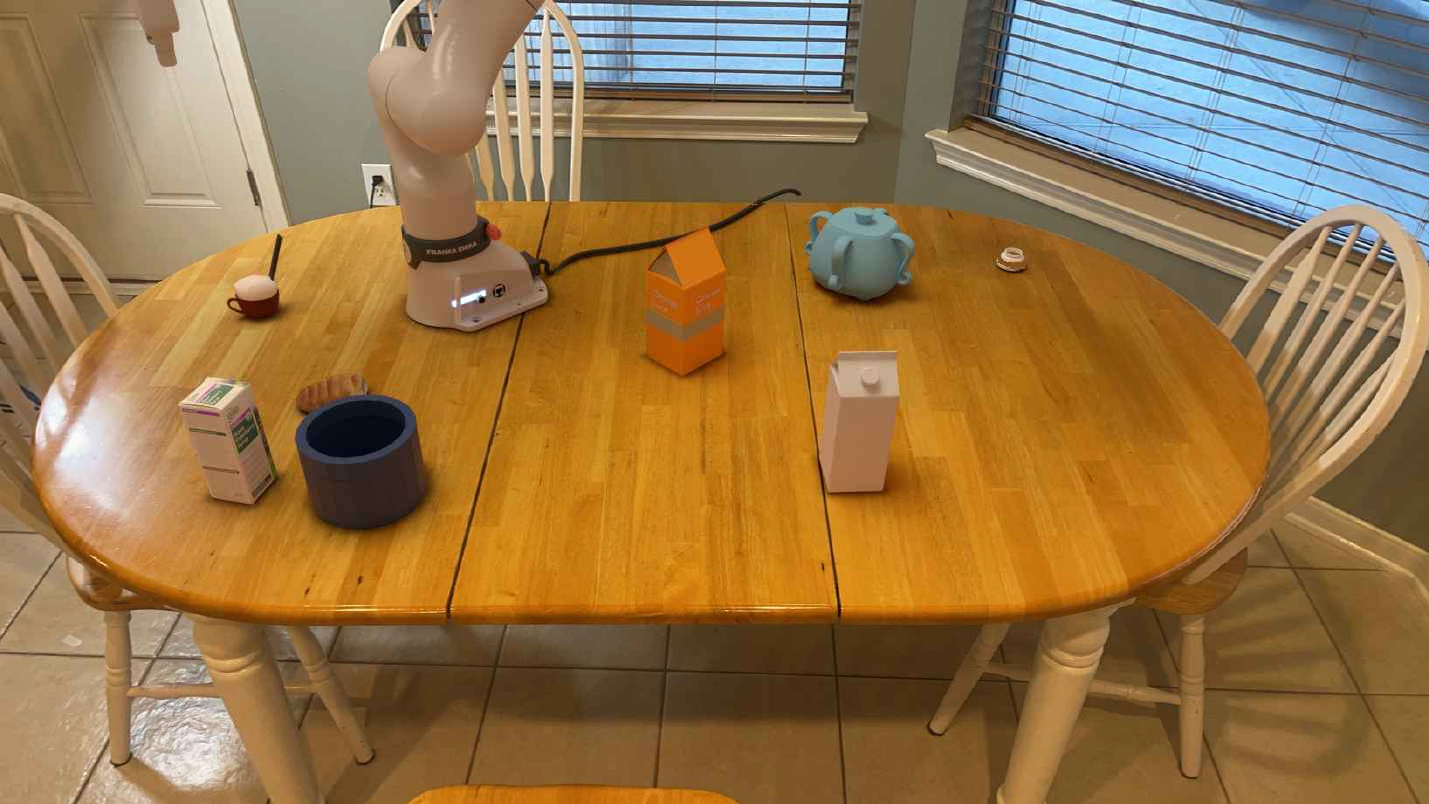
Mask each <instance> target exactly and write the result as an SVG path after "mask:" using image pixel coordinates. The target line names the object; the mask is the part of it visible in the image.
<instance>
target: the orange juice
mask: <svg viewBox="0 0 1429 804" xmlns="http://www.w3.org/2000/svg"><path fill="white" fill-rule="evenodd" d="M708 226H709V225H708ZM708 226H705V227H702V228H699V229H700V230H699V229H697V230H698V231H696V230H695V231H696V232H693V233H691V234H689V235H687V236H684V237H682V238H680V239H677V240H675V241H673V242H668V243H665V244H664V246H663V247H662V249H661V250H660V251H659V253H658V254H657V256H656V257H655V258H654V260H653V261H652V262H651V264H650V265H649V266H648V268H647V269H646V274H645V275H646V307H645V309H646V311H645V312H646V313H645V315H646V316H645V317H646V319H645V320H646V357H647V358H649V359H651V360H653V361H654V362H656V363H658V364H660V365H661V366H663V367H665V368H667V369H668V370H671V371H672V372H673V373H676V374H677V375H679V376H680V377H684V376H686V375H688V374H689V373H691V372H693V371H695V370H697V369H698V368H700V367H702V366H704V365H706V364H707V363H709V362H711V361H712V360H715V359H717V358H718V357H720V356H721V355H723V349H724V327H725V316H726V315H725V312H726V285H727V284H726V283H727V282H726V281H727V268H726V267H725V263H724V262H723V259H722V257H721V255H720V253H719V250H718V248H717V244H716V243H715V241H714V238H713V235H712V233H711V231H710V230H709V228H708Z"/></svg>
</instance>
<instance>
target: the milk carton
mask: <svg viewBox="0 0 1429 804" xmlns="http://www.w3.org/2000/svg"><path fill="white" fill-rule="evenodd" d="M837 353H838V354H837V359H836V360H834V361H832V362H831V363H830V364H829V371H828V378H827V379H828V380H827V387H826V397H825V404H824V413H823V420H822V428H821V438H820V446H819V452H818V459H819V463H820V466H821V472H822V474H823V478H824V481H825V486H826V488H827V492H828V493H858V492H859V493H861V492H882V491H883V490H884V486H885V481H886V476H887V475H886V474H887V469H888V468H887V467H888V463H889V457H890V453H891V452H890V451H891V445H892V441H893V440H892V439H893V435H894V428H895V423H896V417H897V411H898V404H899V400H900V399H899V398H900V387H899V375H898V363H897V359H898V358H897V357H898V350H859V351H856V350H855V351H838V352H837Z"/></svg>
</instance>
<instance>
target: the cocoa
mask: <svg viewBox="0 0 1429 804" xmlns="http://www.w3.org/2000/svg"><path fill="white" fill-rule="evenodd" d="M282 243H283V237H282V235H281V234H280V233H277V235H276V237H275V242H274V248H273V252H272V257H271V262H270V267H269V270H268V272H269V273H268V275H260V274H251V275H248V276H246V277H243V278H241V279H239V280H237V281H235V282H234V284H233V289H234V293H235V294H234V296H235V297H230V298H228V299H227V301H226V305H227V307H228V308H229V309H230V310H231V311H233V312H235V313H238V314H242V315H246V316H249V317H251V318H256V319H261V318H267V317H269V316H271V315H272V314H274V313H275V312H276V311H277V310H278V308H279V304H280V289H279V288H278V287H279V282H278V281H277V279H276V271H277V267H278V263H279V262H278V261H279V257H280V253H281V248H282ZM231 302H237V305H238V307H239V308H240V309H238V308H235V307H233V306H231Z"/></svg>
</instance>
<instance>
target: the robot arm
mask: <svg viewBox="0 0 1429 804" xmlns="http://www.w3.org/2000/svg"><path fill="white" fill-rule="evenodd" d="M126 1H127V2H128V4H129V7H130V8H131V10H132V12H133V13H134V15H135V17H136V19H137V20H138V22H139V24H140V26H141V27H142V29H143V33H144V36H145V39H146V41H147V43H148V44H149V45H151V46H153V47H154V50H155V53H156V56H157V60H158V63H159V65H160V66H161V67H162V68H169V67H175V66H177V65H178V59H177V56H176V52H175V46H174V37H173V34H175V33H178V32H179V31H180V29H181V26H180V20H179V16H178V12H177V8H176V5H175V1H174V0H126ZM545 1H546V0H441V1H440V3H439V5H438V8H437V20H436V24H435V27H434V30H433V33H432V36H431V37H430V38H431V39H430V40H429V44H428V46H427V48H426V50H425V51H423V50H421V49H419V48H414V47H410V46H402V45H394V46H388V47H385V48H384V49H382V50H380V51H379V52H378V53H377V54H375V56H373V58H372V59H371V61H370V62H369V65H368V68H367V71H366V84H367V87H368V91H369V95H370V96H371V99H372V102H373V105H374V110H375V112H376V116H377V120H378V124H379V129H380V132H381V135H382V138H383V142H384V145H385V148H386V152H387V155H388V158H389V161H390V164H391V167H392V171H393V174H394V178H395V184H396V188H397V189H396V190H397V194H398V200H399V207H400V214H401V218H402V224H401V227H400V230H401V244H402V251H403V255H404V259H405V261H406V263H407V271H408V272H407V273H408V274H407V275H408V281H407V282H408V283H407V297H406V302H405V312H406V314H407V315H408V317H410V318H411V319H412V320H414V321H415V322H417V323H419V324H422V325H426V326H429V327H435V328H449V329H456V330H459V331H464V332H468V333H471V332H476V331H479V330H480V329H484V328H486V327H488V326H491V325H493V324H496V323H499V322H501V321H503V320H506V319H508V318H512V317H513V316H516V315H519V314H521V313H523V312H524V313H525V312H527V311H529V310H532V309H534V308H537V307H538V306H541V305H544V304H546V303H547V302H548V299H549V292H548V287H547V285H546V284H545V282H544V281H543V279H542V278H540V276H541V275H542V265H544V267H543V272H544V273H545V274H546V275H549V276H551V275H553V274H555V273H557V272H558V271H559V270H561V269H563V268H565V267H566V266H567V265H569V264H570V263H571V262H573V261H575V260H577V259H580V258H584V257H588V256H594V255H599V254H609V253H616V252H622V251H629V250H635V249H642V248H647V247H652V246H658V245H662V244H668V243H671V242H673V241H675V240H677V239H680V238H682V237H684V236H687V235H689V234H691V233H693V232H696V231H698V230H700V229H701V228H699V229H696V230H692V231H689V232H686V233H682V234H679V235H674V236H670V237H669V236H668V237H664V238H659V239H655V240H654V239H653V240H648V241H644V242H638V243H637V242H636V243H631V244H623V245H617V246H610V247H604V248H603V247H602V248H595V249H588V250H583V251H579V252H576V253H573V254H571V255H569V256H568V257H567V258H565V260H563V261H562V262H561V263H560V264H559V265H558V266H556V267H555V268H553V269H551V268H550V266H551V264H550V261H549V260H547V259H545V258H536V257H534V256H533V255H531V254H530V253H528V251H526V250H522V251H520V252H519V251H518V250H517V249H516V248H515V247H513V246H512V245H511V244H508V243H506V242H504V241H501V238H502V236H503V232H502V230H501V228H499V227H498V226H497V225H495V224H493V223H492V224H491V223H490V221H489V220H488V219H487V218H485V217H483V216H482V215H481V214H479V213H478V212H477V202H476V193H475V185H474V176H473V171H472V169H471V166H470V164H469V162H468V159H467V157H466V154H468V153H469V152H471V151H472V150H473V149H475V147H477V146H478V145H479V143H480V142H481V140H482V139H483V136H484V134H485V131H486V127H487V126H486V125H487V107H488V104H489V100H490V98H491V94H492V92H493V90H494V86H495V83H496V81H497V79H498V76H499V74H500V71H501V69H502V67H503V66H504V63H505V61H506V60H507V58H508V56H509V54H510V52H511V51H512V50H513V48H514V47H515V46H516V44H517V42H518V41H519V39H520V38H521V36H522V35H523V33H524V32H525V31H526V29H527V28H528V26H529V25H530V23H531V22H532V21H533V19H534V18H535V17H536V15H537V13H538V12H539V11H540V10H541V9H542V6H543V5H544V4H545ZM785 194H794V195H796V196H798V197H800V196H802V192H801V191H799V190H798V189H796V188H792V187H791V188H790V187H789V188H783V189H780V190H777V191H775V192H773V193H771V194H769V195H766V196H762V197H760V198H759V199H757V200H756V201H754V202H752V204H759V205H761V204H763V203H765V202H767V201H770V200H772V199H774V198H777V197H779V196H782V195H785ZM759 205H753V206H752V205H751V204H749V205H748V206H747V207H745V208H743V209H742V210H740V211H737V212H736V213H735V214H733V215H732V214H731V215H730V216H729V217H727V218H724V219H722V220H720V221H718V222H715V223H713V224H710V225H708V228H709V230H710V232H711V231H713V230H715V229H718V228H721V227H723V226H725V225H727V224H729V223H731V222H733V221H735V220H736V219H739V218H740V217H742V216H744V215H746V214H747V213H749V212H751V211H752V210H754V209H756V207H758V206H759ZM749 207H750V208H749Z"/></svg>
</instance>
